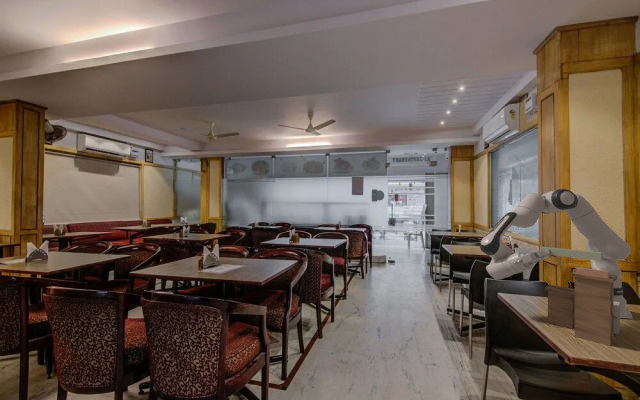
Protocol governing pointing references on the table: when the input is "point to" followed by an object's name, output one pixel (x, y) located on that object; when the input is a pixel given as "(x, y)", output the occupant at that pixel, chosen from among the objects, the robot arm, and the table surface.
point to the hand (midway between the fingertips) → (551, 250)
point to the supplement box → (616, 317)
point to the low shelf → (561, 305)
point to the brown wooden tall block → (594, 308)
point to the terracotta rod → (592, 272)
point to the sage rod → (574, 253)
